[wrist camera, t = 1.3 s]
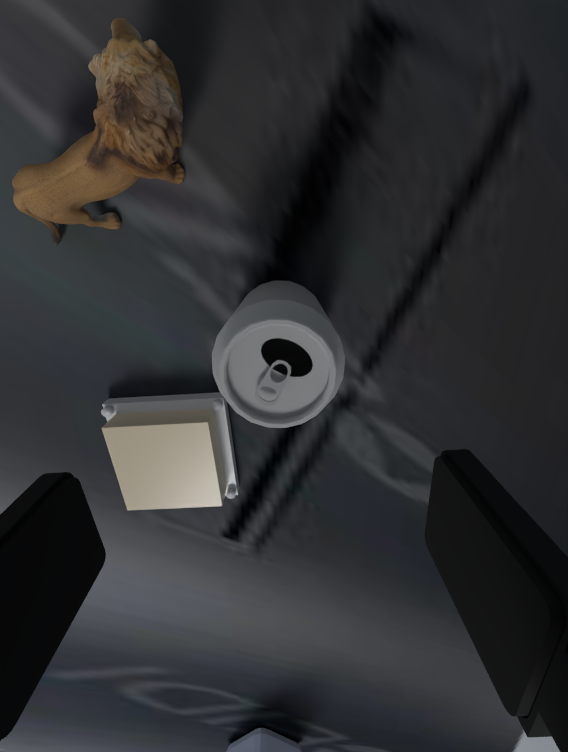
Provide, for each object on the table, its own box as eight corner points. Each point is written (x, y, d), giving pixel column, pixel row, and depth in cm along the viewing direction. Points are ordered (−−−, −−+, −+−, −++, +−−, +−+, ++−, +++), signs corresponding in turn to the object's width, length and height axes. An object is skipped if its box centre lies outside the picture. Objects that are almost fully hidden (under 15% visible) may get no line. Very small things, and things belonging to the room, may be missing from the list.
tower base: (225, 391, 30) (218, 410, 27) (239, 486, 34) (234, 513, 31) (108, 398, 31) (86, 418, 27) (136, 491, 35) (119, 519, 31)
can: (341, 307, 27) (380, 351, 16) (296, 379, 30) (304, 460, 19) (261, 261, 26) (244, 274, 15) (222, 341, 28) (181, 403, 17)
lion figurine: (174, 68, 22) (105, -42, 13) (227, 146, 23) (194, 92, 15) (33, 215, 25) (-94, 201, 16) (87, 274, 26) (-4, 289, 18)
